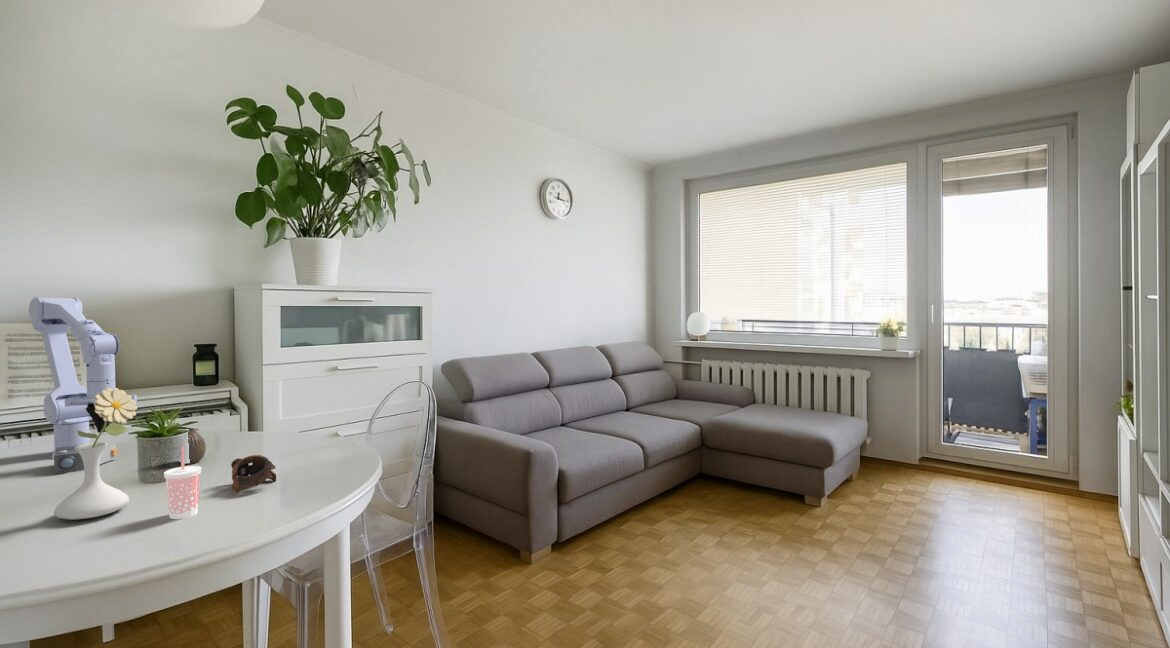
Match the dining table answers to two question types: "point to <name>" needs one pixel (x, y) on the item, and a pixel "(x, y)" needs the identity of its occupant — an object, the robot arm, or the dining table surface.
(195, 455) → the brown ribbed ovoid
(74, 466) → the camera body
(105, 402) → the flower in vase
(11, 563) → the dining table surface
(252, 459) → the brown curved piece
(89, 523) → the dining table surface
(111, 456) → the side door
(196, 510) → the beverage cup
